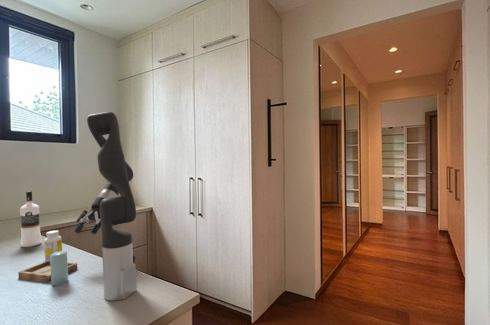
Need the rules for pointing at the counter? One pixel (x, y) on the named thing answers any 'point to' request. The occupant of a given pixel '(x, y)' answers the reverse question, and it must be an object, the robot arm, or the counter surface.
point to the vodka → (30, 223)
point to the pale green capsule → (59, 268)
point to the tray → (42, 271)
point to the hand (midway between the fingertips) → (84, 232)
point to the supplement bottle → (52, 244)
